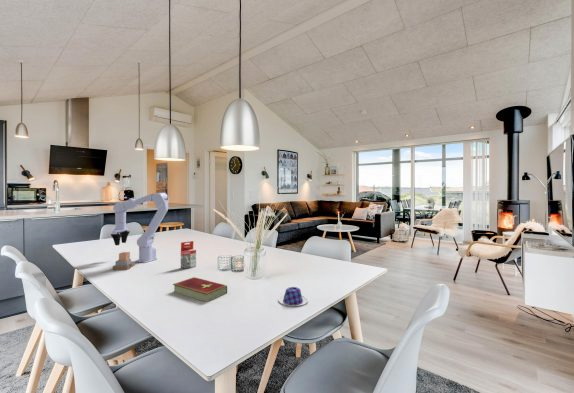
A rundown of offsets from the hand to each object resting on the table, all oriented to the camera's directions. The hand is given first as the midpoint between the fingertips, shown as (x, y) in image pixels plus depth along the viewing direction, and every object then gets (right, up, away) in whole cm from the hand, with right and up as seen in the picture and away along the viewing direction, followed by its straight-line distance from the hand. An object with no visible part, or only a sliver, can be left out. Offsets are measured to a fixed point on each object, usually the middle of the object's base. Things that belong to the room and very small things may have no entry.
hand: (120, 244), depth 176 cm
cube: (+11, -7, -15) cm, 19 cm away
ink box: (+47, -12, -12) cm, 50 cm away
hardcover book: (+65, -13, -51) cm, 84 cm away
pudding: (+106, -14, -60) cm, 123 cm away
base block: (+11, -12, -15) cm, 22 cm away
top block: (+11, -9, -15) cm, 21 cm away
